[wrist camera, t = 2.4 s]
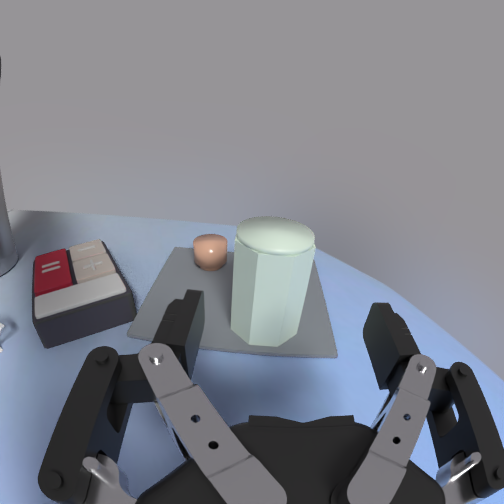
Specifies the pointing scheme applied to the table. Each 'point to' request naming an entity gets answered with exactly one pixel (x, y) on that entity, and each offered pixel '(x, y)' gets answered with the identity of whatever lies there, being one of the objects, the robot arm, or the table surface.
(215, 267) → the pink pebble
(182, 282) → the mat
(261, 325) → the pale green faceted cylinder
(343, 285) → the table surface
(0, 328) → the white toy table
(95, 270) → the calculator
